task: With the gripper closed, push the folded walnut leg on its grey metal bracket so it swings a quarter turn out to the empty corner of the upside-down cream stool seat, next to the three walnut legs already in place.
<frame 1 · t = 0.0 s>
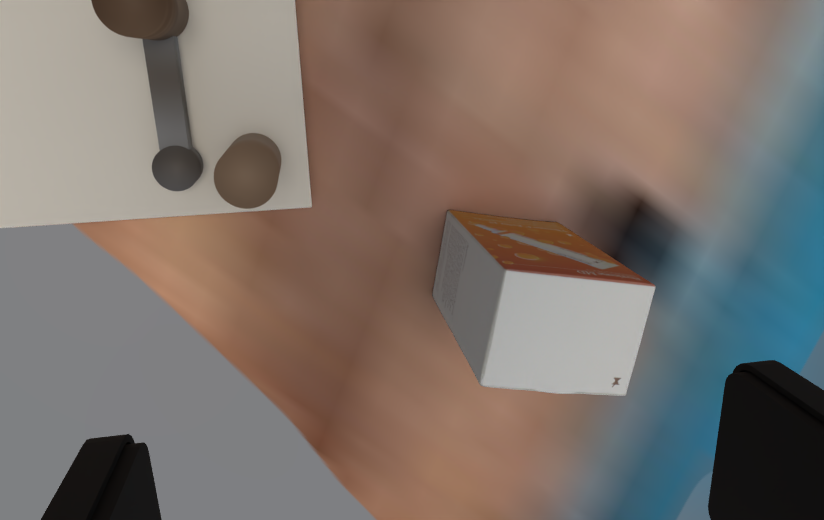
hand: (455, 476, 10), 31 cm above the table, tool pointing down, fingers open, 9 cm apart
hinged leg: (157, 89, 31), point 6 cm above the table, hinge at 0.0°
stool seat: (131, 14, 35), on the table
small box: (493, 257, 43), on the table
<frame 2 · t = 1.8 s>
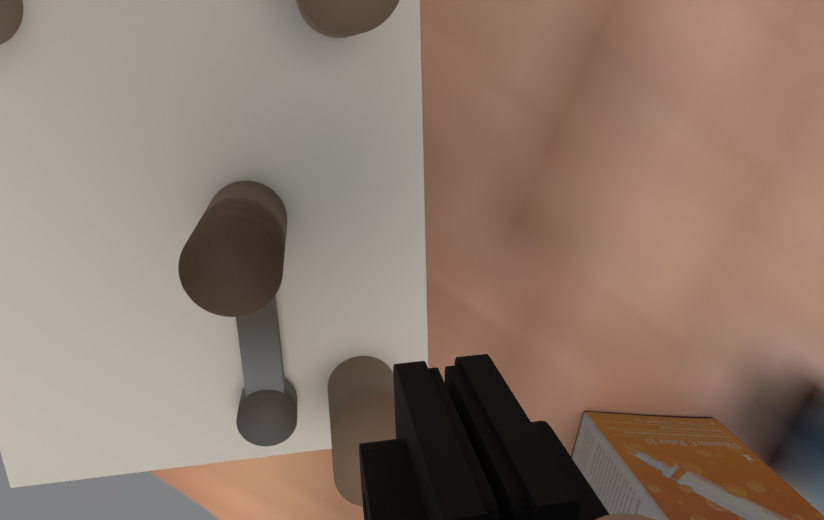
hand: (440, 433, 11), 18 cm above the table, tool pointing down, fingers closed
hinged leg: (253, 343, 23), point 6 cm above the table, hinge at 0.0°
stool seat: (204, 205, 27), on the table
small box: (633, 458, 35), on the table
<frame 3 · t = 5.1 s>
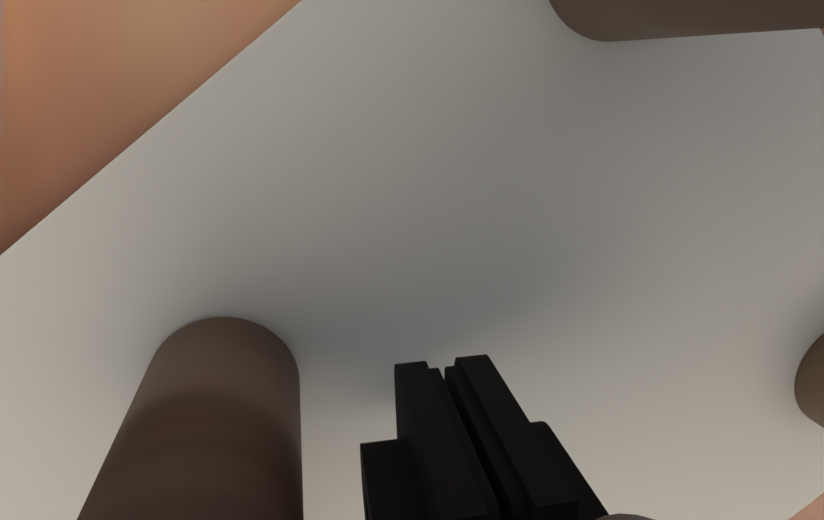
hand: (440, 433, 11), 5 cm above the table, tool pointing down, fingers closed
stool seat: (443, 367, 17), on the table
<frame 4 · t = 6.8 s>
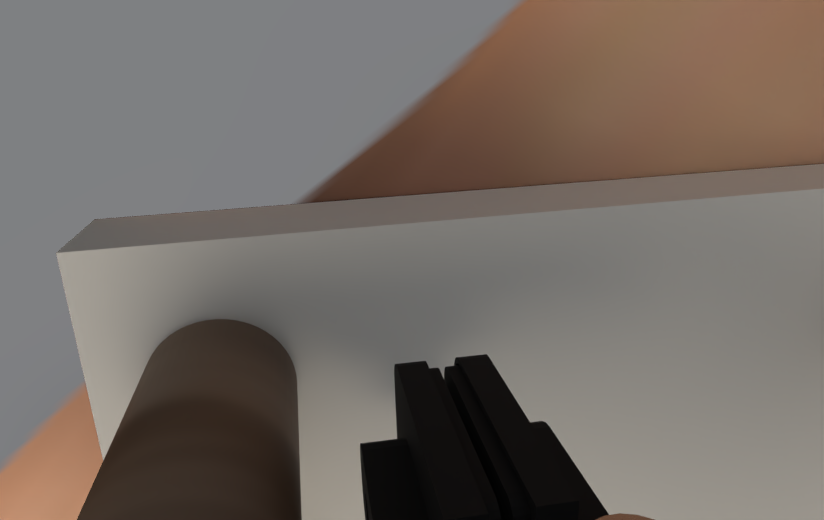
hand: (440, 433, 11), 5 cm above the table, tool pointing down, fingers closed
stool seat: (550, 483, 19), on the table
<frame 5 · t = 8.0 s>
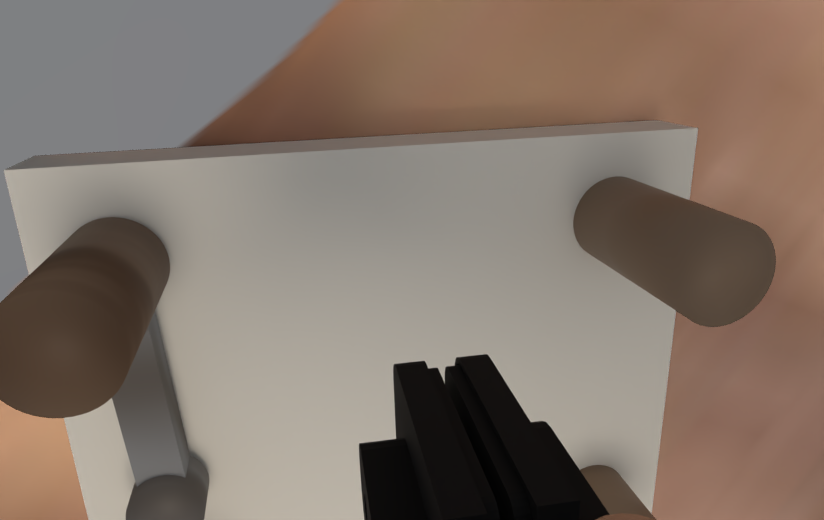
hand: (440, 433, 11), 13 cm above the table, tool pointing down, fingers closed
hinged leg: (126, 429, 17), point 6 cm above the table, hinge at 93.1°
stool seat: (385, 363, 25), on the table
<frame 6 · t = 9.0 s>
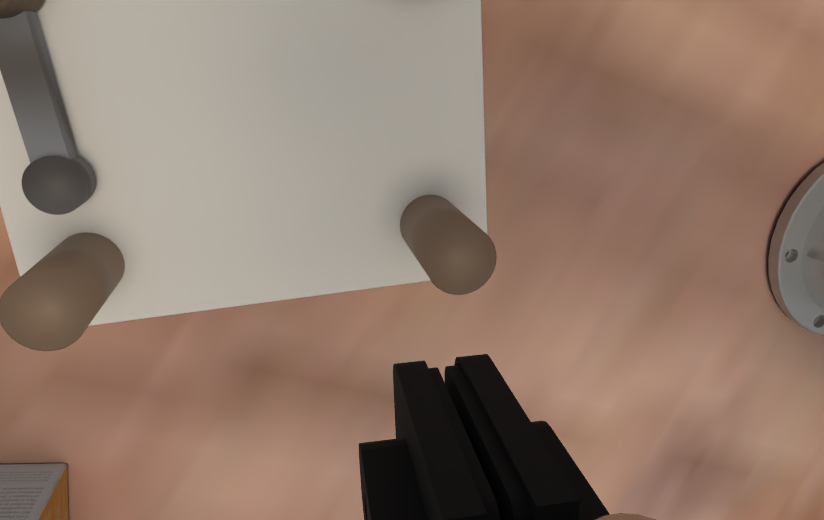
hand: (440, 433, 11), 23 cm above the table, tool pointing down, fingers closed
hinged leg: (6, 83, 23), point 6 cm above the table, hinge at 93.1°
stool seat: (250, 111, 31), on the table
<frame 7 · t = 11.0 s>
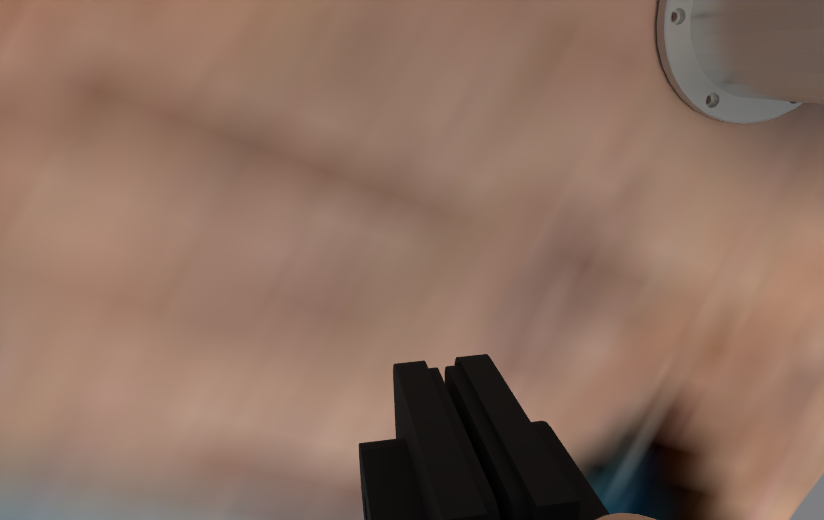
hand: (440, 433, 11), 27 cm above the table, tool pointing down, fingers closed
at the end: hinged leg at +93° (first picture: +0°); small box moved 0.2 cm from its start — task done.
